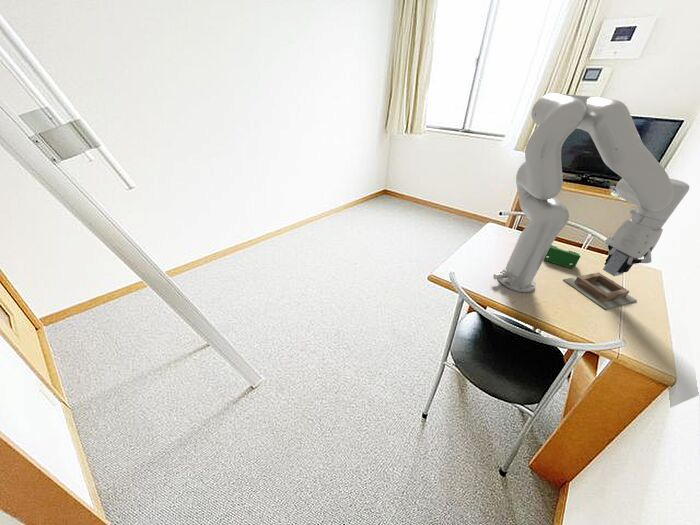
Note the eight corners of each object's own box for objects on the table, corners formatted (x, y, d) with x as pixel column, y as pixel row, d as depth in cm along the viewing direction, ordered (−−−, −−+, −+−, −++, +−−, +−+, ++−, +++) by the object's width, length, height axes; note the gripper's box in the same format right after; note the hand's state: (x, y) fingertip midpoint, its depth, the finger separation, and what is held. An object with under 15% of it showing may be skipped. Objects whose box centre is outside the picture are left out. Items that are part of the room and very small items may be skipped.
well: (604, 309, 100) (609, 302, 98) (562, 280, 112) (566, 273, 110) (636, 301, 105) (641, 294, 103) (593, 274, 117) (597, 267, 115)
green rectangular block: (562, 271, 125) (582, 256, 120) (563, 275, 120) (584, 259, 115) (538, 252, 128) (556, 236, 123) (538, 255, 123) (557, 238, 118)
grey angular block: (614, 276, 101) (627, 256, 97) (602, 269, 104) (615, 250, 100) (625, 273, 103) (639, 254, 98) (613, 267, 106) (626, 248, 102)
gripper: (612, 209, 98) (584, 256, 108) (671, 234, 85) (632, 285, 95) (628, 207, 100) (599, 253, 110) (687, 231, 87) (648, 281, 97)
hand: (615, 267), depth 103 cm, fingers closed on grey angular block, 4 cm apart
